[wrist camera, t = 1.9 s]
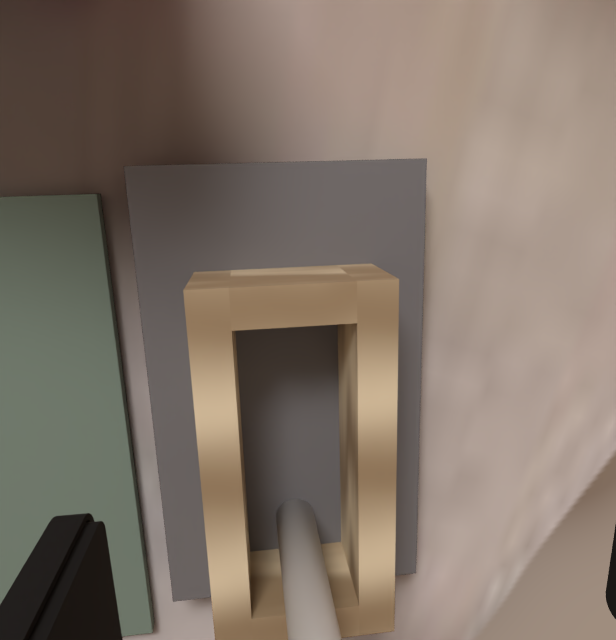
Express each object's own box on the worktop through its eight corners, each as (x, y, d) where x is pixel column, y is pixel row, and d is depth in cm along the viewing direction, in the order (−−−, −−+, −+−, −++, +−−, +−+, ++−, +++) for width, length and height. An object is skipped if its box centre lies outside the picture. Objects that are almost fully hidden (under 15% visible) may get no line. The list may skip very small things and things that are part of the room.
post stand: (403, 546, 28) (734, 1275, 9) (178, 571, 27) (24, 1484, 8) (411, 161, 23) (1160, 32, 4) (134, 168, 22) (-566, 24, 3)
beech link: (371, 564, 26) (394, 631, 22) (220, 581, 25) (216, 653, 21) (371, 263, 22) (399, 279, 18) (193, 271, 21) (183, 290, 17)
